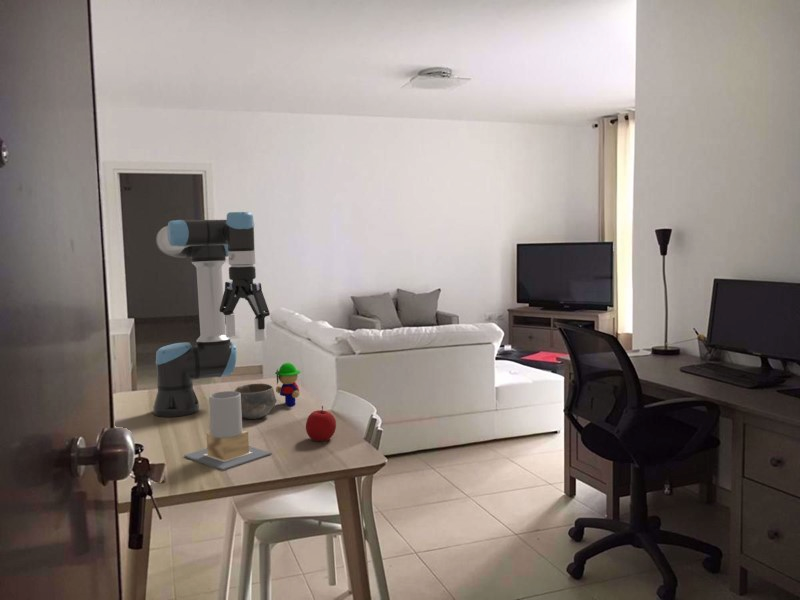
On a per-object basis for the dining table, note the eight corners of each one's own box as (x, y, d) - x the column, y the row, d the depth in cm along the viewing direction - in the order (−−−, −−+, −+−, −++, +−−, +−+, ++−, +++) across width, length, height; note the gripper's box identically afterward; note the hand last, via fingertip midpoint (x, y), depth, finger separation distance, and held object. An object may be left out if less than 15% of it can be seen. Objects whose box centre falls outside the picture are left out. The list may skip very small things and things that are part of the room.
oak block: (207, 454, 192) (206, 433, 191) (231, 447, 198) (230, 426, 197) (224, 460, 186) (223, 438, 186) (248, 452, 193) (248, 431, 192)
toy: (276, 400, 253) (275, 360, 251) (302, 399, 254) (301, 359, 252) (273, 408, 242) (272, 366, 240) (300, 407, 243) (299, 365, 241)
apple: (302, 437, 208) (301, 404, 207) (331, 433, 211) (330, 401, 210) (310, 446, 200) (309, 412, 198) (340, 441, 203) (339, 408, 202)
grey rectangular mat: (184, 456, 192) (184, 454, 192) (232, 442, 204) (231, 440, 204) (223, 470, 180) (223, 468, 180) (271, 454, 192) (271, 452, 192)
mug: (244, 436, 188) (242, 396, 186) (211, 439, 185) (209, 399, 184) (239, 424, 199) (238, 387, 198) (209, 427, 196) (207, 389, 195)
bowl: (260, 408, 242) (259, 380, 241) (286, 416, 231) (285, 387, 230) (224, 417, 232) (223, 387, 231) (249, 425, 221) (248, 395, 220)
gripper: (205, 265, 205) (208, 336, 207) (259, 267, 189) (262, 344, 191) (226, 264, 210) (229, 333, 213) (280, 266, 194) (283, 340, 197)
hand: (245, 338), depth 202 cm, fingers open, 13 cm apart
